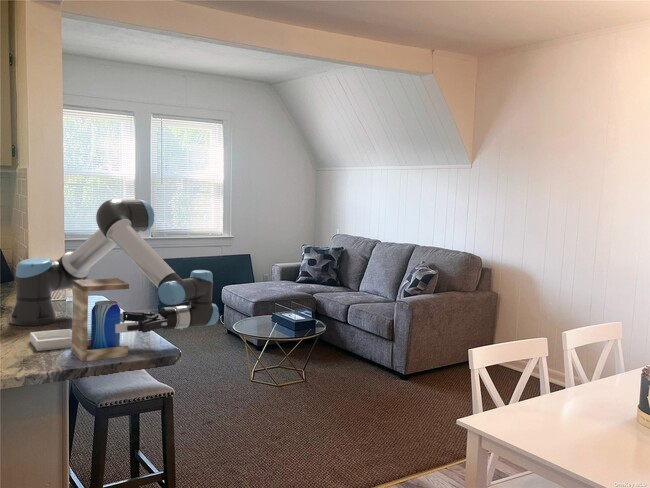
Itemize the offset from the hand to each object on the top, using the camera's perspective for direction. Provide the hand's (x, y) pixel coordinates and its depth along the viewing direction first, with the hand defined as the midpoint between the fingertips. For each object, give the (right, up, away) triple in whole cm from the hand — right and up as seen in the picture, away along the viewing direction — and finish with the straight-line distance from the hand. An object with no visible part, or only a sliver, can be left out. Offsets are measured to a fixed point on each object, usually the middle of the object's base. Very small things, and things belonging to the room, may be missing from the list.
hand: (108, 323), depth 174 cm
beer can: (-1, -9, +1) cm, 10 cm away
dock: (-3, -9, 0) cm, 10 cm away
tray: (-20, -8, +7) cm, 23 cm away
